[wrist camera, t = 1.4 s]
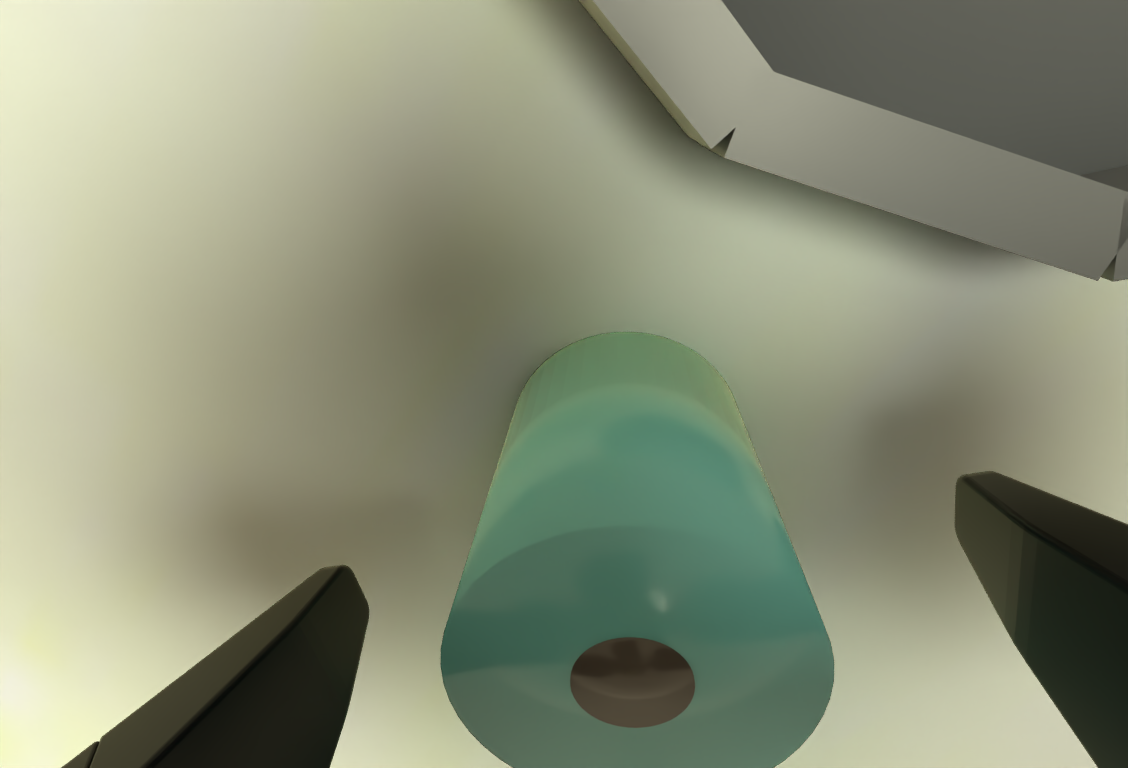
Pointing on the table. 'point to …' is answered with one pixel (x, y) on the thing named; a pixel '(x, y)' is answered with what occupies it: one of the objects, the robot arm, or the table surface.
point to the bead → (633, 578)
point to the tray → (911, 107)
